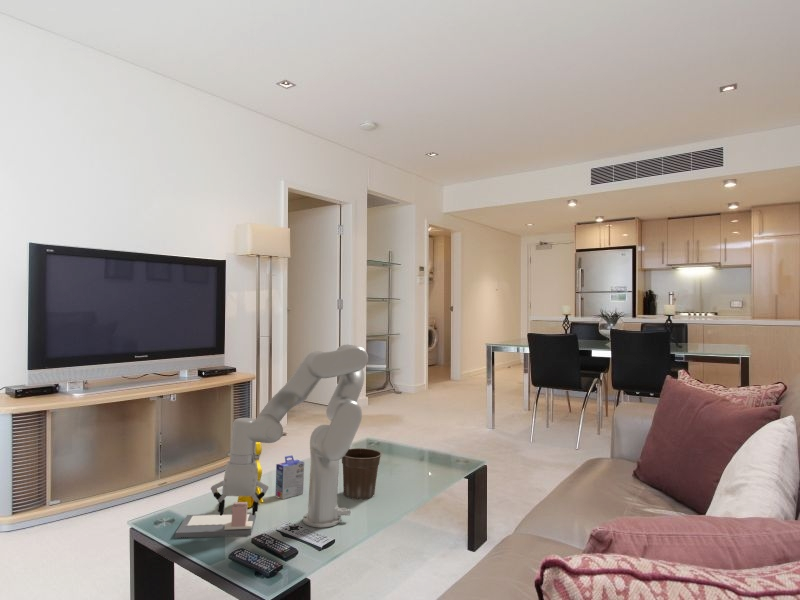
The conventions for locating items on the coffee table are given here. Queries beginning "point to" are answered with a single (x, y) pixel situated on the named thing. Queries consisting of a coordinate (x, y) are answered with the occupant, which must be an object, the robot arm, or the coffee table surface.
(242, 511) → the stub
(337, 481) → the robot arm
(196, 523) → the board
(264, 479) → the coffee table surface
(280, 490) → the ink cartridge box
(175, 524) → the coffee table surface
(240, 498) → the figure statuette
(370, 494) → the plant pot
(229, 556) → the coffee table surface
